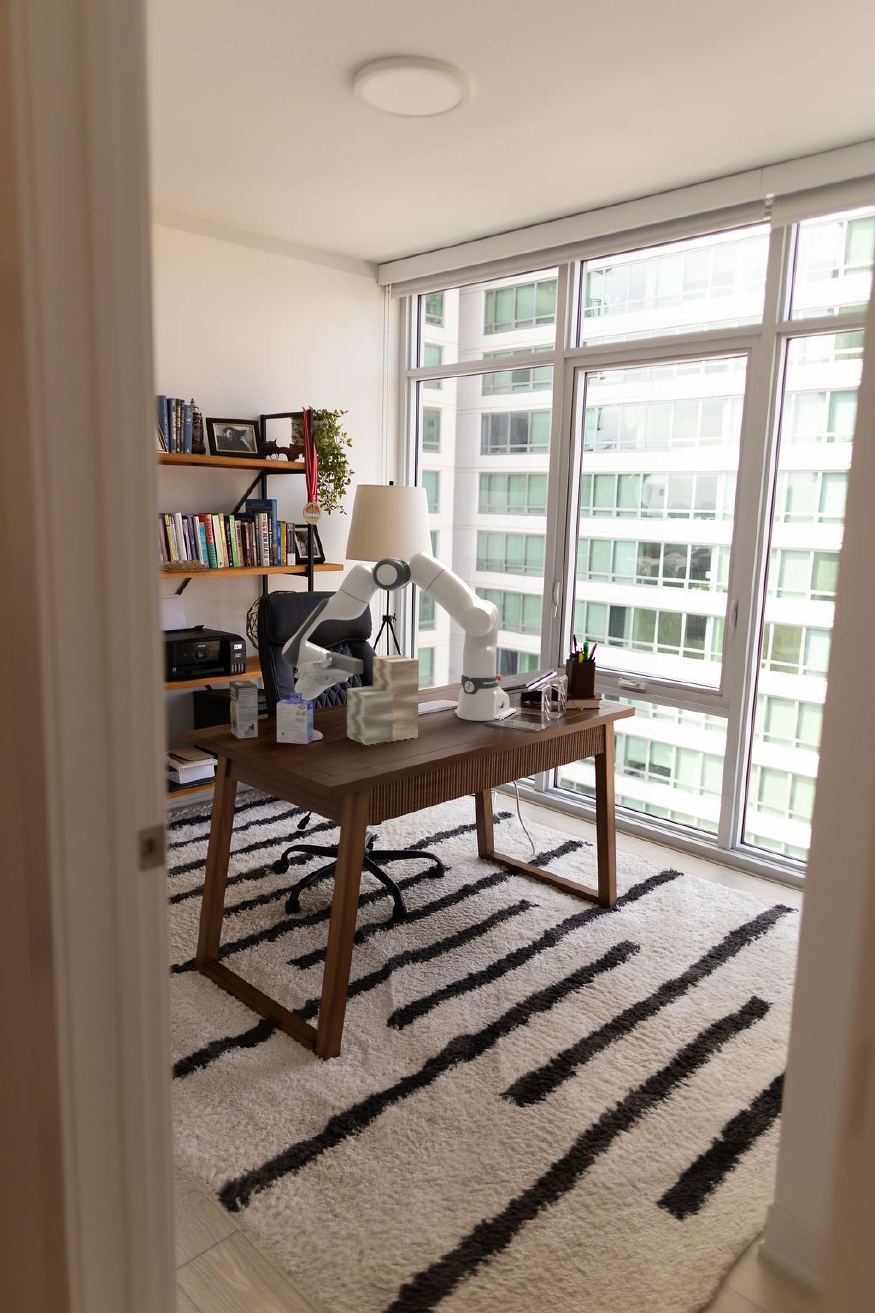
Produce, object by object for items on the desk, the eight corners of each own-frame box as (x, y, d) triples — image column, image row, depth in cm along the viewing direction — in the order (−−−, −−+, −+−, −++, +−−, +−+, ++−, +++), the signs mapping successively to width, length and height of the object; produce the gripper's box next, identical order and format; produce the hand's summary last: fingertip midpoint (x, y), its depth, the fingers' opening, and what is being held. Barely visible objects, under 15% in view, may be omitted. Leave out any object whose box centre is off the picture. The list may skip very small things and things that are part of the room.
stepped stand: (347, 736, 272) (346, 659, 268) (397, 729, 282) (398, 654, 278) (366, 745, 262) (366, 665, 258) (418, 737, 272) (418, 660, 268)
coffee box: (230, 732, 276) (228, 681, 273) (250, 730, 279) (249, 679, 276) (237, 739, 268) (236, 686, 265) (258, 736, 271) (257, 684, 268)
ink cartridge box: (314, 740, 268) (313, 692, 265) (308, 744, 262) (307, 696, 260) (283, 738, 270) (282, 691, 267) (276, 742, 264) (275, 694, 262)
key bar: (326, 665, 287) (326, 652, 286) (334, 664, 288) (334, 652, 288) (354, 674, 271) (354, 661, 270) (363, 673, 273) (363, 660, 272)
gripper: (290, 669, 289) (305, 653, 278) (346, 663, 300) (363, 648, 289) (294, 687, 287) (310, 671, 276) (350, 681, 298) (368, 666, 287)
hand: (338, 659), depth 283 cm, fingers closed on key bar, 3 cm apart
